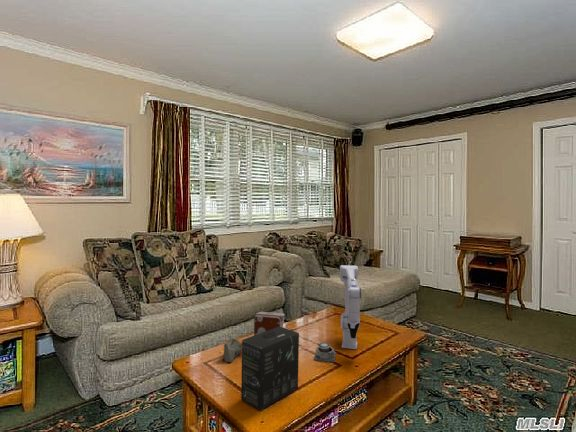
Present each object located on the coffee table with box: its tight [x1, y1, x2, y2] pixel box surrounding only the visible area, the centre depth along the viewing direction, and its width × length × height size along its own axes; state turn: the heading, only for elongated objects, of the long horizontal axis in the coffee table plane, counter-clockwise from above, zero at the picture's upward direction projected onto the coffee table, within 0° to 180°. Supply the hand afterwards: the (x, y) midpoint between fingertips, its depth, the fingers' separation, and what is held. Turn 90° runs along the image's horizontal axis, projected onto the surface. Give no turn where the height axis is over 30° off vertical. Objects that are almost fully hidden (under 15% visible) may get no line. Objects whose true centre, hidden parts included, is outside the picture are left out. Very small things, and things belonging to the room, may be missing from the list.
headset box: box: [240, 326, 300, 411], centre depth 142 cm, size 22×12×26 cm, turn 139°
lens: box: [318, 342, 330, 352], centre depth 176 cm, size 5×5×5 cm
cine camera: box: [253, 311, 290, 336], centre depth 182 cm, size 9×19×20 cm, turn 78°
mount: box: [313, 345, 337, 363], centre depth 176 cm, size 10×10×4 cm
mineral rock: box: [222, 337, 242, 363], centre depth 175 cm, size 13×11×10 cm
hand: (353, 337), depth 175 cm, fingers closed
